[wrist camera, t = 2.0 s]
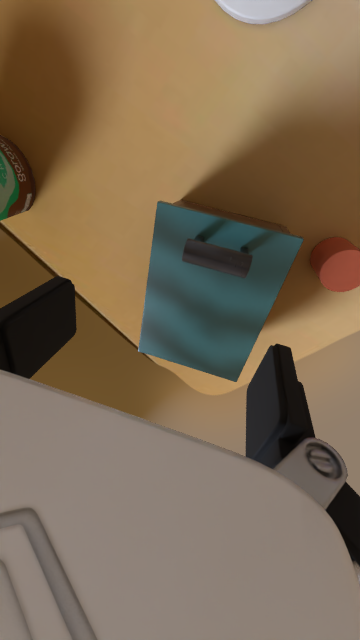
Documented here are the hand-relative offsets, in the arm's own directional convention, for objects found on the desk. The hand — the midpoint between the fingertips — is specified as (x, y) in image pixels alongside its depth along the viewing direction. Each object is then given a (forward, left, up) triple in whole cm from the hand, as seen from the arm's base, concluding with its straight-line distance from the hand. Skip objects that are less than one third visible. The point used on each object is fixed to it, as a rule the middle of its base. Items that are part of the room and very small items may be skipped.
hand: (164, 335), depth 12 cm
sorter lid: (+5, +3, -14) cm, 15 cm away
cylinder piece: (-6, +12, -23) cm, 26 cm away
